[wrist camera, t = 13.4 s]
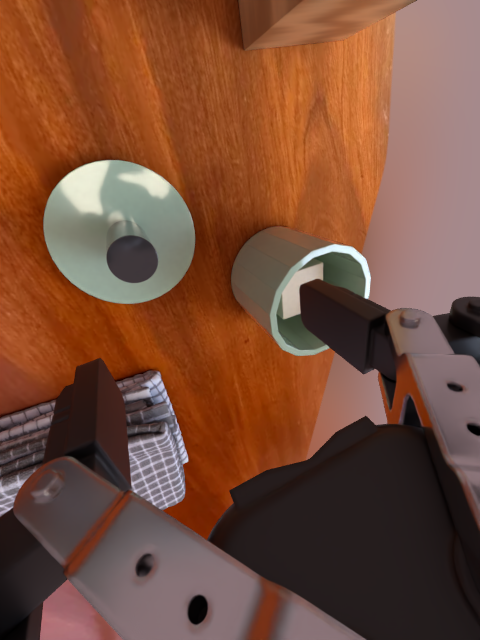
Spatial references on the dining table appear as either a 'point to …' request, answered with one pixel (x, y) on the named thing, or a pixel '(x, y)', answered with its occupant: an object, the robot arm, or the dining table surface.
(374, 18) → the stand
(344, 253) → the pot
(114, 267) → the lid
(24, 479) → the towel
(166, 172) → the dining table surface
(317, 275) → the block
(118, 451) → the robot arm
